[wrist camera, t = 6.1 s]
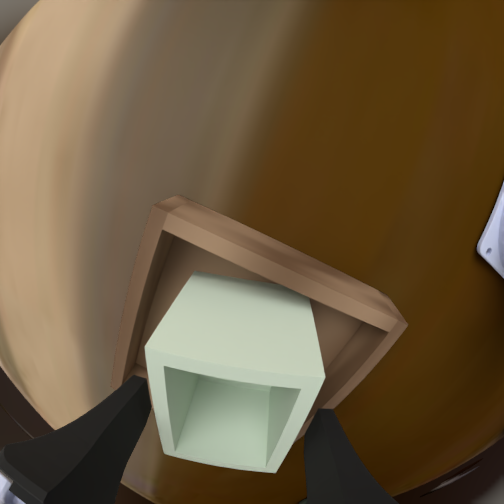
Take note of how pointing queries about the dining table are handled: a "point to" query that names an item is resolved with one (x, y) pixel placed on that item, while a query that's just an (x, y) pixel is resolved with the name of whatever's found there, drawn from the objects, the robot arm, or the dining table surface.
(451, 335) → the dining table surface
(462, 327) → the dining table surface
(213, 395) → the box
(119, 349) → the big crate
